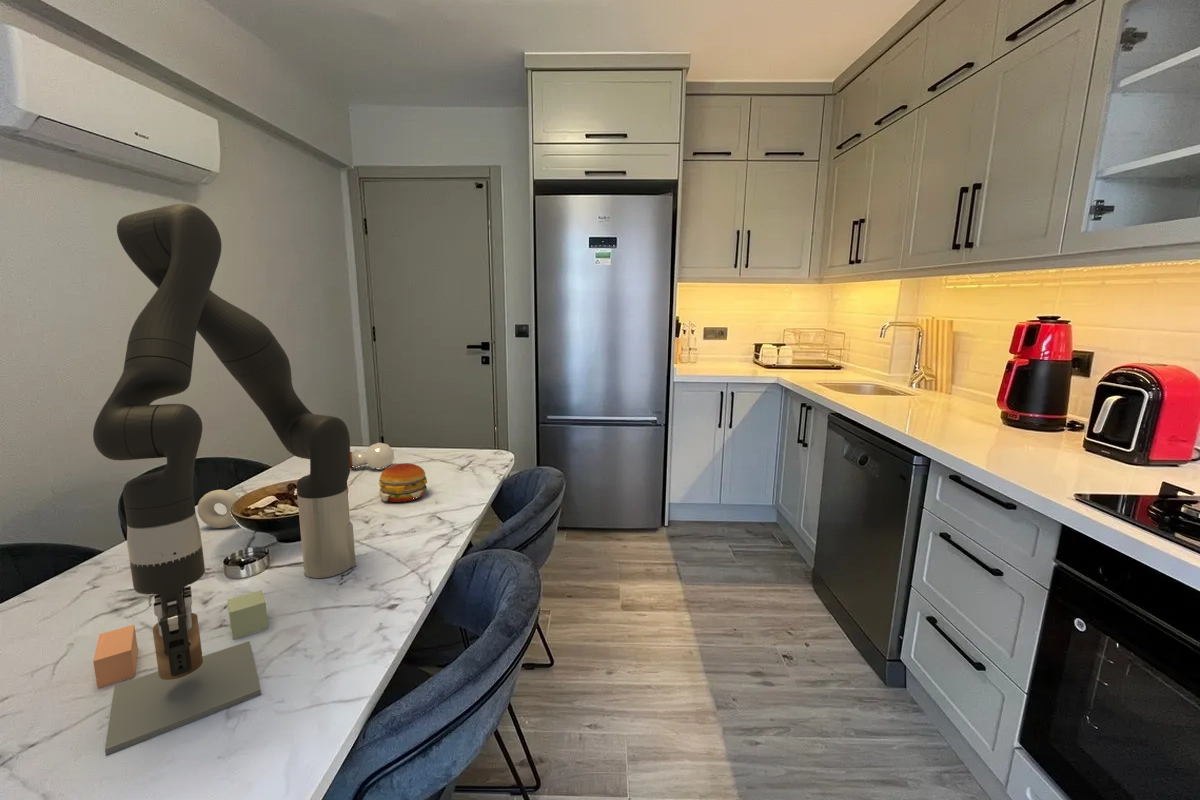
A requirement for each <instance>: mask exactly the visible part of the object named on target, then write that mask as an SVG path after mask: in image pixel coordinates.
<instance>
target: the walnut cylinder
mask: <svg viewBox="0 0 1200 800" xmlns="http://www.w3.org/2000/svg"><path fill="white" fill-rule="evenodd" d="M191 617H192V627H191V628H190V629H189V630H188V633H189V640H190V639H191V646H189V647H190V656H191V664H192V669H191V670H190V671H189V672H186V673H183V674H180V675H178V676H172V675H171V671H170V664H169V657H168V656H166V654H164V650H165V648H164V642H163V637H162V636H160V635H159V627H158V622H157V623H156V624H155V625H153V626H152V634H153V643H154V648H155V649H154V650H155V656H156V661H157V662H156V663H157V671H159V677H160V678H161V679H164V680H172V679H177V678H181V677H183V676H186V675H188V674H190V673H192V672H194V671H195V670H197V669H198V668H199V667H200V666H201V665H202V663H203V658H202V656H203V651H202V644H201V643H202V642H201V634H200V626H199V619H198V615H197V614H196V613H194V612H191ZM186 621H187V618H186ZM178 640H181V639H178ZM178 640H174V641H171V642H170V643H172V642H175V641H178Z"/></svg>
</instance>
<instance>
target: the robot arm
mask: <svg viewBox="0 0 1200 800" xmlns="http://www.w3.org/2000/svg"><path fill="white" fill-rule="evenodd" d="M116 234H117V238H118V241H119V243H120V245H121V246H122V247H121V248H122V249H123V250H124V251H125V253H126V254H127V256H128V258H129V259H130V260H131V261H132V263H133V264H134V265H135V266H136V267H137V268H138V270H140V272H141V273H143V274H144V275H145V277H147V280H149V281H150V282H151V283H152V284H153V285H154V286H155V287H156V291H155V293H154V294H153V296H152V297H151V298H150V300H149V301H148V302H147V303H146V305H145V306H144V308H142V311H141V312H140V313H139V315H138V316H137V318H136V319H135V321H134V322H133V325H132V327H131V330H130V333H129V336H128V340H127V346H126V350H125V351H126V352H125V358H124V365H123V370H122V373H121V376H120V377H119V379H118V381H117V383H116V385H115V387H114V389H113V391H112V392H111V394H110V396H109V397H108V398H107V399H106V402H105V404H104V405H103V406H102V408H101V410H100V411H99V414H98V416H97V417H96V420H95V423H94V426H93V431H92V435H93V443H94V446H95V447H96V449H97V450H98V452H99V453H100V454H101V455H102V456H103V457H105V458H106V459H109V460H112V461H135V460H136V461H137V460H147V459H161V458H162V459H163V458H166V465H165V467H164V469H162V470H157V471H154V472H150V473H147V474H142V475H139V476H137V477H136V476H135V477H134V478H131V479H130V480H128V481H127V482H126V483H125V484H124V486H123V488H122V497H123V498H122V499H123V505H124V511H125V512H124V513H125V519H126V528H127V530H126V531H127V533H126V545H127V546H126V547H127V552H128V558H129V566H130V573H131V579H132V580H131V581H132V586H133V590H134V592H137V594H141V595H148V596H149V595H154V596H153V597H154V602H153V611H154V612H153V613H154V615H155V616H156V617H157V623H158V627H159V635H160V636H162V637H163V642H164V648H165V650H164V654H166V656H168V657H169V664H170V671H171V675H172V676H178V675H180V674H183V673H186V672H189V671H190V670H191V669H192V664H191V656H190V647H189V646H191V639H190V640H189V633H188V630H189V629H190V628H191V627H192V617H191V613H193V612H192V611H193V610H192V606H193V595H192V584H194V583H196V582H197V581H199V580H200V579H201V578H202V577H203V576H204V574H205V571H206V569H205V568H206V565H205V560H204V559H205V558H204V551H203V542H202V534H201V526H200V523H199V521H198V516H197V512H196V503H195V497H194V495H195V494H194V487H193V485H194V484H193V482H194V474H195V473H194V471H195V464H196V461H197V460H196V459H197V455H198V451H199V447H200V443H201V439H202V433H203V422H202V418H201V417H200V414H199V413H198V412H197V411H196V410H195V409H194V408H193V407H191V405H187V404H184V403H164V404H152V403H153V402H154V401H157V400H160V399H163V398H168V397H171V396H175V395H178V394H181V393H183V392H185V391H186V390H187V389H189V387H190V383H191V381H192V379H191V378H192V371H193V361H194V353H195V342H196V337H197V333H198V334H199V335H200V336H201V338H202V339H203V340H204V341H205V342H206V344H207V345H208V347H210V349H211V350H212V351H213V353H214V354H215V356H216V357H217V358H218V359H219V361H220V362H221V364H222V365H223V366H224V367H225V369H226V370H227V371H228V372H229V373H230V375H231V376H232V377H233V378H234V379H235V381H236V382H238V384H239V385H240V386H241V387H242V389H243V390H244V391H245V392H246V394H247V395H248V396H249V398H250V399H251V400H252V401H253V402H254V404H255V405H256V406H257V407H258V408H259V410H260V411H261V412H262V413H263V415H264V416H265V418H266V420H267V421H268V422H269V424H270V426H271V428H272V429H273V430H274V432H275V434H276V436H277V438H278V439H279V441H280V442H281V444H282V445H283V446H284V448H285V449H286V451H288V453H290V454H291V455H293V456H294V457H297V458H300V459H306V460H309V468H310V469H309V474H307V475H304V476H302V477H301V478H299V479H298V480H297V482H296V497H297V507H298V516H299V517H298V519H299V528H300V541H301V550H302V561H303V565H302V566H303V572H304V575H305V576H306V577H308V578H313V579H323V578H329V577H334V576H337V575H340V574H343V573H344V572H346V571H348V570H350V568H355V567H357V565H356V564H357V563H356V550H355V534H354V526H353V523H352V522H351V518H350V516H351V515H350V507H349V506H350V505H349V492H348V479H349V478H350V473H351V468H350V452H351V439H350V433H349V429H348V426H347V424H346V422H344V420H343V419H341V418H339V417H338V416H337V417H336V416H332V415H331V416H330V415H322V414H316V413H315V414H314V413H313V412H312V411H310V410H309V408H308V407H307V406H306V405H305V404H304V403H303V401H302V400H301V398H299V396H298V394H297V393H296V391H295V389H294V386H293V380H292V379H293V378H292V369H291V368H292V367H291V364H290V360H289V357H288V354H287V353H286V351H285V350H284V348H283V347H282V345H281V344H280V342H279V341H278V339H277V337H276V336H274V334H273V332H272V331H271V329H270V328H269V327H268V326H267V325H266V324H265V323H263V322H262V321H260V320H259V319H258V318H256V317H255V316H253V315H252V314H250V313H248V312H246V311H245V310H243V309H241V308H239V307H238V306H236V305H234V304H232V303H230V301H229V302H228V301H227V300H226V299H223V297H222V298H221V297H220V296H219V295H217V294H216V293H215V292H213V291H212V290H211V287H212V282H213V280H214V277H215V273H216V271H217V268H218V265H219V262H220V258H221V254H222V239H221V235H220V232H219V229H218V226H217V225H216V224H215V222H214V221H213V220H212V218H211V217H210V216H209V215H208V214H207V213H206V212H205V211H204V210H202V209H200V208H199V207H197V206H195V205H192V204H188V203H178V204H171V205H166V206H161V207H158V208H152V209H148V210H144V211H138V212H135V213H132V214H131V213H130V214H128V215H126V216H122V217H121V218H120V219H119V220H118V222H117V225H116ZM186 618H187V621H186ZM178 639H181V640H178ZM174 640H178V641H175V642H172V643H170V642H171V641H174Z"/></svg>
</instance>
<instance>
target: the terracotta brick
mask: <svg viewBox="0 0 1200 800" xmlns="http://www.w3.org/2000/svg"><path fill="white" fill-rule="evenodd" d="M138 653H139V646H138V639H137V633H136V628H135V624H131V625H128V626H124V627H120V628H117V629H113V630H110V631H109V630H108V631H105V632H103V633H99V635H98V638H97V642H96V648H95V653H94V657H93V661H92V662H93V668H94V669H93V670H94V675H95V680H96V687H97V689H101V688H104V687H107V686H110V685H112V684H117V683H119V682H121V681H125V680H127V679H130V678H134V677H136V672H137V662H138Z"/></svg>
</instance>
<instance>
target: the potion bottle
mask: <svg viewBox="0 0 1200 800" xmlns="http://www.w3.org/2000/svg"><path fill="white" fill-rule="evenodd" d="M394 460H395V451H394V449H393V448H391V446H390V445H389V444H387V443H383V442H376V443H374V444H371V445H369V447H368V448H367V450H366V451H363V452H361V451H360V450H359V449H355V450H354V451H350V470H353V469H354V468H355V467H357V468H356V470H359V469H360V468H361V467H362V466H365V465H368V466H369V467H370V469H372V470H376V471H377V470H378V471H382V470H383V471H384V470H386V469H387V468H388V467H387V466H389V465H390V466H392V463H393V462H394ZM361 465H362V466H361ZM352 466H354V467H352ZM358 466H360V467H358ZM390 466H389V467H390ZM383 467H386V468H383ZM375 468H380V469H375Z"/></svg>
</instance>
